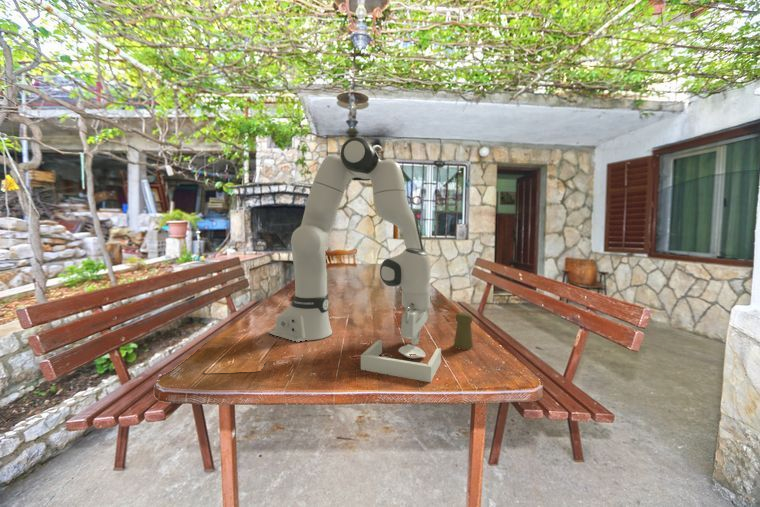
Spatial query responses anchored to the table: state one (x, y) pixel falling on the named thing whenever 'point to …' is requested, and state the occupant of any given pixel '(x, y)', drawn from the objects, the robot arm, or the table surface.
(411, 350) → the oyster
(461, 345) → the green tapered cylinder
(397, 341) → the table surface
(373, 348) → the box
